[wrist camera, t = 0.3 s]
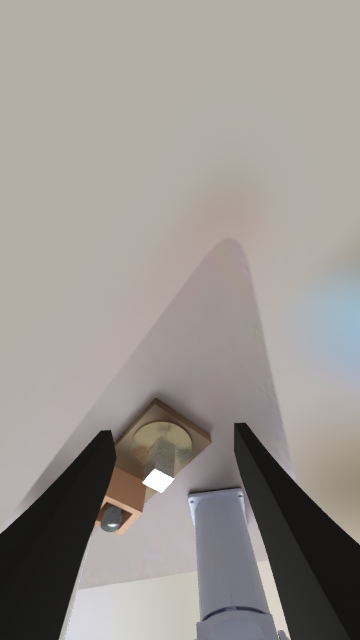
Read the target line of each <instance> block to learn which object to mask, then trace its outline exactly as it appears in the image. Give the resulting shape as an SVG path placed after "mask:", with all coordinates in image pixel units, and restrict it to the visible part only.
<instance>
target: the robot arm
mask: <svg viewBox="0 0 360 640" xmlns="http://www.w3.org/2000/svg"><path fill="white" fill-rule="evenodd" d="M234 452H235V456H236V460H237V464H238V468H239V472H240V475H241V478H242V481H243V484H244V487H245V490H246V493H247V496H248V498H249V501H250V504H251V507H252V510H253V513H254V516H255V519H256V521H257V524H258V527H259V530H260V533H261V536H262V539H263V542H264V545H265V548H266V552H267V555H268V559H269V562H270V566H271V569H272V573H273V576H274V580H275V583H276V587H277V591H278V594H279V598H280V602H281V605H282V609H283V612H284V616H285V620H286V623H287V626H288V631H289V634H290V638H291V640H360V545H359V544H358V543H357V542H356V541H355V540H354V539H353V538H351V537H350V536H349V535H348V534H347V533H346V532H345V531H344V530H343V529H342V528H340V527H339V526H338V525H337V524H336V523H335V522H334V521H333V520H332V519H331V518H330V517H329V516H328V515H327V514H326V513H325V512H324V511H323V510H322V509H321V508H320V507H319V506H318V505H317V504H316V503H314V501H313V500H312V499H311V498H309V496H308V495H307V494H306V493H305V492H304V491H303V490H302V489H301V488H300V487H299V486H298V485H297V484H296V483H295V482H294V480H293V479H292V478H291V477H290V476H289V475H288V474H287V473H286V472H285V471H284V469H283V468H282V467H281V466H280V465H279V464H278V463H277V461H276V460H275V459H274V458H273V457H272V456H271V454H270V453H269V452H268V451H267V450H266V448H265V447H264V446H263V445H262V443H261V442H260V441H259V440H258V438H257V437H256V436H255V434H254V433H253V432H252V431H251V429H250V428H249V426H248V425H247V424H246V423H234ZM116 459H117V456H116V451H115V446H114V442H113V437H112V432H111V430H105V431H100V432H99V433H98V434H97V436H96V437H95V438H94V439H93V440H92V441H91V442H90V443H89V445H88V446H87V447H86V448H85V449H84V450H83V451H82V452H81V454H80V455H79V456H78V457H77V458H76V459H75V460H74V461H73V462H72V463H71V465H70V466H69V467H68V468H67V469H66V470H65V471H64V472H63V473H62V474H61V475H60V477H59V478H58V479H57V480H56V481H55V482H54V483H53V484H52V485H51V486H50V487H49V488H48V489H47V490H46V491H45V492H44V493H43V494H42V495H41V496H40V497H39V498H38V499H37V500H36V501H35V502H34V503H33V504H32V505H31V506H30V507H29V508H28V509H27V510H26V511H25V512H24V513H23V514H22V515H21V516H19V517H18V518H17V519H16V520H15V521H14V522H13V523H12V524H11V525H10V526H9V527H8V528H7V529H5V530H4V531H3V532H2V533H1V534H0V640H59V637H60V634H61V630H62V627H63V623H64V620H65V616H66V613H67V609H68V606H69V602H70V599H71V595H72V592H73V589H74V585H75V582H76V579H77V575H78V572H79V569H80V565H81V562H82V559H83V556H84V553H85V550H86V547H87V544H88V541H89V538H90V536H91V533H92V530H93V527H94V525H95V522H96V519H97V517H98V514H99V511H100V508H101V506H102V503H103V500H104V498H105V495H106V492H107V489H108V487H109V484H110V481H111V477H112V474H113V470H114V466H115V462H116ZM188 502H189V506H190V510H191V514H192V519H193V523H194V527H195V535H196V553H197V570H198V588H199V605H200V622H197V624H196V626H197V639H196V640H289V638H288V637H286V634H285V632H284V631H283V630H280V631H278V635H279V639H278V635H277V632H276V628H275V624H274V621H273V617H272V615H271V614H270V611H269V608H268V604H267V600H266V596H265V593H264V589H263V585H262V581H261V578H260V574H259V570H258V566H257V563H256V559H255V555H254V551H253V548H252V544H251V540H250V536H249V532H248V529H247V520H246V512H245V504H244V496H243V491H242V489H241V488H236V489H228V490H220V491H211V492H203V493H195V494H189V495H188Z"/></svg>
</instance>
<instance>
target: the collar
mask: <svg viewBox="0 0 360 640" xmlns="http://www.w3.org/2000/svg"><path fill="white" fill-rule="evenodd" d="M146 488H147V485H145V484H143V480H141V479H139V478H137V477H135V476H133V475H131V474H129V473H127V472H125V471H123V470H121V469H119V468H117V467H115V466H114V470H113V474H112V477H111V481H110V484H109V487H108V489H107V492H106V495H105V498H104V500H103V503H102V506H101V508H100V511H99V514H98V517H97V519H96V522H95V525H97V526H99V527H101V526H100V524H101V521H102V518H103V515H104V512H105V509H106V506H107V503H108V502H109V503H111V504H113V505H115V506H117V507H119V508H122V509H124V510H123V514H122V519H121V523H120V527H119V529H118V530H117V531H115V532H113V533H115V534H117V535H120V536H121V535H122V534H123V533H124V532H125V531H126V530H127V529H128V528H129V526H130V525H131V524H132V523H133V522H134V521H135V520H136V519H137V518H138V517H139V516H140V515H141V514H142V512H143V506H144V500H145V494H146Z"/></svg>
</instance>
